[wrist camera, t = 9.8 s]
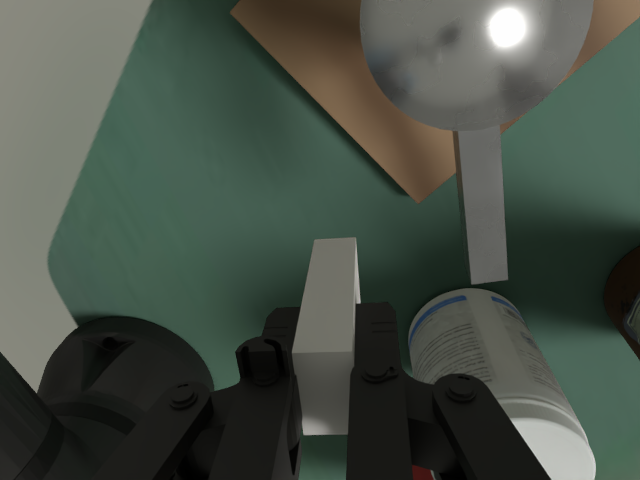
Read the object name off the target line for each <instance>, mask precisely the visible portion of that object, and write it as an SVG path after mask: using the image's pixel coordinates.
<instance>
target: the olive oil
mask: <svg viewBox="0 0 640 480" xmlns="http://www.w3.org/2000/svg"><path fill="white" fill-rule="evenodd" d="M604 304H605V308H606V311H607V313H608V316H609V317H610V319H611V321H612V322H613V324H614V325H615V326H616V328H617V329H618V331H619V332H620V333H621V335H622V336H623V338H624V339H625V340H626V342H627V343H628V344H629V346H630V347H631V349H632V350H633V351H634V353H635V354H636V356H637V357H638V359H639V360H640V246H639V247H637V248H636V249H634V250H633V251H631V252H630V253H629V254H627V255H626V256H625V257H624V258H623V259H622V260H621V261H620V262H619V263H618V264H617V266H616V267H615V268H614V270H613V271H612V273H611V274H610V276H609V278H608V281H607V283H606V287H605V291H604Z"/></svg>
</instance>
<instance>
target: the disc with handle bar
mask: <svg viewBox="0 0 640 480" xmlns="http://www.w3.org/2000/svg"><path fill="white" fill-rule="evenodd" d="M593 2H594V0H361V7H360V33H361V43H362V47H363V52H364V56H365V59H366V62H367V65H368V67H369V70H370V72H371V74H372V76H373V78H374V80H375V82H376V84H377V85H378V86H379V88H380V89H381V91H382V92H383V94H384V95H385V96H386V97H387V98H388V99H389V100H390V101H391V102H392V104H393V105H395V106H396V107H397V108H398V109H399V110H401V111H402V112H403V113H405V114H406V115H408V116H409V117H411V118H413V119H414V120H416V121H419V122H421V123H423V124H425V125H428V126H431V127H435V128H438V129H443V130H450V131H452V133H453V144H454V155H455V165H456V176H457V187H458V198H459V209H460V219H461V230H462V241H463V252H464V263H465V269H466V272H467V274H468V277H469V279H470V282H471V285H472V284H480V283H487V282H495V281H503V280H508V269H507V250H506V232H505V213H504V194H503V176H502V157H501V139H500V125H501V124H503V123H506V122H509V121H511V120H513V119H515V118H517V117H519V116H521V115H523V114H524V113H526V112H527V111H529V110H530V109H532V108H533V107H535V106H536V105H537V104H539V103H540V102H541V101H542V100H543V99H545V98H546V97H547V96H548V95H549V94H550V93H551V92H552V91H553V90H554V89H555V88H556V87H557V86H558V85H559V83H560V82H561V81H562V80H563V78H564V77H565V76H566V74H567V73H568V72H569V70H570V68H571V67H572V65H573V64H574V62H575V60H576V59H577V57H578V55H579V52H580V50H581V48H582V46H583V44H584V41H585V38H586V35H587V32H588V29H589V26H590V21H591V16H592V12H593Z"/></svg>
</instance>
